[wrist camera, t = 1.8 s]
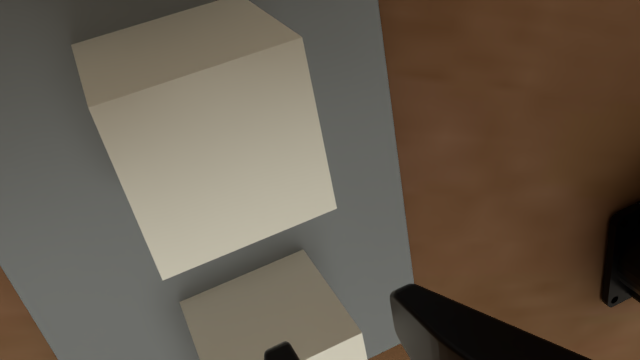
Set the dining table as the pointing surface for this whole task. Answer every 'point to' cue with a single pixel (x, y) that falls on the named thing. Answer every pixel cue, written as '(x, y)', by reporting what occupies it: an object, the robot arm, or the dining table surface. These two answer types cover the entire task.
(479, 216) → the dining table surface
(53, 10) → the mat
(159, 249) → the plain block
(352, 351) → the block one
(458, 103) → the dining table surface
